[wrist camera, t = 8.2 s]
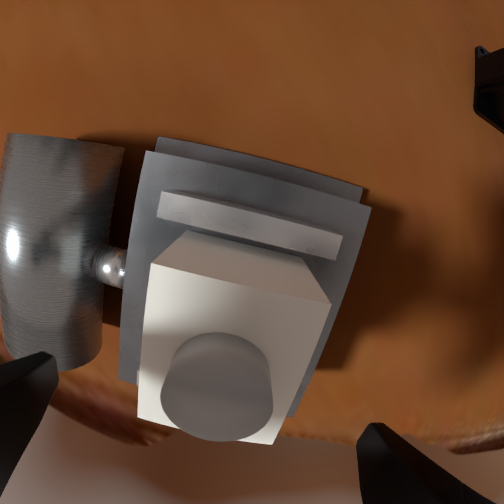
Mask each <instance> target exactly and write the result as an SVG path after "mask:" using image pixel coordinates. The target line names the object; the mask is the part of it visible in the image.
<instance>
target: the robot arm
mask: <svg viewBox="0 0 504 504" xmlns="http://www.w3.org/2000/svg"><path fill="white" fill-rule="evenodd" d="M473 107H474V110H475V112H476V113H477V114H478V115H480V116H481V117H483V118H484V119H485V120H487V121H488V122H490V123H491V124H492V125H494V126H495V127H496V128H498V129H499V130H500V131H501V132H503V133H504V48H502V49H499V50H497V51H494V52H491V53H490V52H488V51H487V50H486V49H484V48H483V47H482V46H477V47H476V48H475V88H474V104H473ZM479 107H480V109H479ZM58 382H59V376H58V369H57V361H56V358H55V356H54V355H52V354H49V353H47V352H45V351H41V352H38V353H35V354H31V355H28V356H25V357H22V358H19V359H15V360H12V361H9V362H6V363H2V364H0V497H1V495H2V493H3V491H4V488H5V487H6V484H7V483H8V480H9V479H10V477H11V475H12V473H13V471H14V469H15V467H16V465H17V463H18V461H19V460H20V458H21V456H22V454H23V452H24V451H25V449H26V447H27V445H28V444H29V442H30V440H31V438H32V437H33V435H34V433H35V431H36V430H37V428H38V426H39V424H40V422H41V420H42V418H43V416H44V413H45V411H46V409H47V406H48V405H49V402H50V400H51V398H52V396H53V394H54V392H55V390H56V388H57V385H58ZM356 451H357V460H358V472H359V484H360V491H361V496H362V502H363V504H496V503H494V502H492V501H491V500H489V499H487V498H485V497H483V496H482V495H480V494H479V493H477V492H476V491H474V490H473V489H471V488H470V487H468V486H467V485H465V484H464V483H462V482H461V481H460V480H458V479H457V478H455V477H454V476H453V475H451V474H450V473H448V472H447V471H446V470H444V469H443V468H442V467H440V466H439V465H437V464H436V463H435V462H433V461H432V460H431V459H429V458H428V457H426V456H425V455H424V454H423V453H421V452H420V451H419V450H417V449H416V448H415V447H413V446H412V445H411V444H409V443H408V442H407V441H406V440H404V439H403V438H402V437H400V436H399V435H398V434H397V433H395V432H394V431H393V430H391V429H390V428H389V427H388V426H386V425H385V424H384V423H370V424H369V425H368V426H367V427H366V429H365V430H364V432H363V433H362V435H361V436H360V438H359V439H358V441H357V444H356Z"/></svg>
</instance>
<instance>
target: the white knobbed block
mask: <svg viewBox="0 0 504 504" xmlns="http://www.w3.org/2000/svg"><path fill="white" fill-rule="evenodd" d="M331 305H332V304H331V303H330V301H329V300H328V298H327V296H326V295H325V293H324V292H323V290H322V289H321V287H320V285H319V284H318V282H317V281H316V279H315V278H314V276H313V274H312V273H311V271H310V270H309V268H308V267H307V265H306V264H305V262H304V261H303V259H302V258H301V257H297V256H293V255H289V254H285V253H281V252H276V251H272V250H268V249H264V248H260V247H256V246H251V245H247V244H243V243H239V242H235V241H231V240H226V239H222V238H218V237H214V236H210V235H205V234H201V233H197V232H193V231H188V230H187V231H185V232H184V233H183V234H182V235H181V236H180V237H179V238H178V239H177V240H176V241H174V242H173V243H172V244H171V245H170V246H169V247H168V248H167V249H166V250H165V251H163V252H162V253H161V254H160V255H159V256H158V257H157V258H156V259H155V260H154V261H153V262H152V263H151V267H150V274H149V281H148V289H147V297H146V305H145V314H144V323H143V334H142V345H141V358H140V373H139V392H138V417H139V418H142V419H145V420H149V421H152V422H156V423H159V424H163V425H167V426H171V427H174V428H179V429H181V430H183V431H184V432H186V433H188V434H190V435H193V436H195V437H198V438H201V439H205V440H210V441H220V442H222V441H235V440H239V441H246V442H253V443H261V444H271V445H272V444H273V442H274V440H275V438H276V436H277V434H278V432H279V430H280V428H281V425H282V423H283V421H284V419H285V417H286V415H287V413H288V411H289V408H290V406H291V404H292V402H293V400H294V397H295V395H296V393H297V391H298V388H299V386H300V384H301V381H302V379H303V377H304V374H305V372H306V370H307V367H308V365H309V362H310V360H311V357H312V355H313V352H314V350H315V347H316V345H317V342H318V340H319V337H320V335H321V332H322V329H323V327H324V324H325V321H326V319H327V316H328V313H329V311H330V308H331Z"/></svg>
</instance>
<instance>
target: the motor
mask: <svg viewBox="0 0 504 504" xmlns="http://www.w3.org/2000/svg"><path fill="white" fill-rule="evenodd" d="M124 151H125V148H123V147H118V146H113V145H107V144H101V143H95V142H88V141H82V140H74V139H67V138H59V137H50V136H40V135H29V134H15V133H7V135H6V140H5V146H4V151H3V157H2V164H1V171H0V315H1V323H2V329H3V335H4V341H5V345H6V347H7V350H8V351H9V353H10V354H11V355H12V356H13V357H14V358H15V359H19V358H22V357H25V356H28V355H31V354H35V353H38V352H41V351H45V352H47V353H49V354H52V355H54V356H55V358H56V361H57V369H58V371H67V370H72V369H75V368H79V367H81V366H83V365H85V364H87V363H89V362H90V361H91V360H93V359H94V358H95V357H96V356H97V355H98V353H99V351H100V349H101V347H102V322H103V299H104V284H108V285H111V286H114V287H118V288H121V289H123V296H122V308H121V322H120V340H119V379H120V380H123V381H126V382H129V383H132V384H135V385H138V386H139V373H140V358H141V345H142V334H143V323H144V314H145V305H146V297H147V289H148V281H149V274H150V267H151V263H152V262H153V261H154V260H155V259H156V258H157V257H158V256H159V255H160V254H161V253H162V252H163V251H165V250H166V249H167V248H168V247H169V246H170V245H171V244H172V243H173V242H174V241H176V240H177V239H178V238H179V237H180V236H181V235H182V234H183V233H184V232H185V231H187V230H188V231H193V232H197V233H201V234H205V235H210V236H214V237H218V238H222V239H226V240H231V241H235V242H239V243H243V244H247V245H251V246H256V247H260V248H264V249H268V250H272V251H276V252H281V253H285V254H289V255H293V256H297V257H301V258H302V259H303V261H304V262H305V264H306V265H307V267H308V268H309V270H310V271H311V273H312V274H313V276H314V278H315V279H316V281H317V282H318V284H319V285H320V287H321V289H322V290H323V292H324V293H325V295H326V296H327V298H328V300H329V301H330V303H331V304H332V305H331V308H330V311H329V313H328V316H327V319H326V321H325V324H324V327H323V329H322V332H321V335H320V337H319V340H318V342H317V345H316V347H315V350H314V352H313V355H312V357H311V360H310V362H309V365H308V367H307V370H306V372H305V374H304V377H303V379H302V381H301V384H300V386H299V388H298V391H297V393H296V395H295V397H294V400H293V402H292V404H291V406H290V408H289V411H288V413H287V415H286V417H293V416H294V414H295V412H296V410H297V408H298V405H299V403H300V401H301V399H302V397H303V395H304V393H305V390H306V388H307V386H308V384H309V382H310V379H311V377H312V375H313V372H314V370H315V368H316V366H317V363H318V361H319V358H320V356H321V354H322V351H323V349H324V346H325V344H326V342H327V339H328V337H329V334H330V331H331V329H332V326H333V324H334V321H335V319H336V316H337V313H338V311H339V308H340V305H341V302H342V300H343V297H344V294H345V291H346V289H347V286H348V283H349V280H350V277H351V274H352V271H353V268H354V265H355V262H356V259H357V256H358V253H359V249H360V246H361V243H362V240H363V237H364V233H365V230H366V226H367V223H368V220H369V216H370V213H371V209H372V207H369V206H366V205H363V204H359V202H360V199H361V195H362V191H363V188H361V187H358V186H355V185H352V184H349V183H346V182H343V181H340V180H337V179H333V178H330V177H327V176H324V175H320V174H317V173H314V172H310V171H307V170H303V169H300V168H296V167H293V166H289V165H286V164H282V163H278V162H274V161H271V160H267V159H263V158H259V157H255V156H251V155H247V154H242V153H238V152H234V151H230V150H225V149H221V148H216V147H211V146H207V145H202V144H197V143H192V142H187V141H181V140H176V139H170V138H165V137H159V136H158V139H157V143H156V147H155V151H154V152H151V151H146V153H145V157H144V162H143V166H142V171H141V175H140V180H139V185H138V190H137V195H136V201H135V206H134V212H133V218H132V224H131V230H130V237H129V244H128V250H126V249H122V248H118V247H114V246H111V245H108V243H109V235H110V227H111V220H112V213H113V207H114V201H115V195H116V190H117V184H118V179H119V174H120V169H121V164H122V160H123V155H124Z"/></svg>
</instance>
